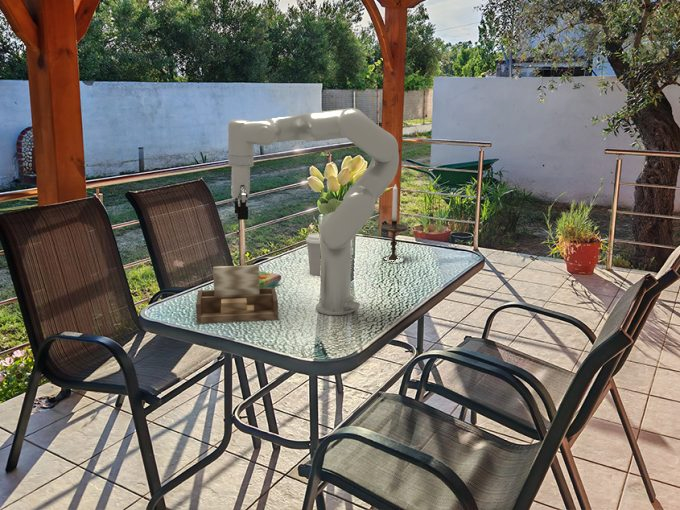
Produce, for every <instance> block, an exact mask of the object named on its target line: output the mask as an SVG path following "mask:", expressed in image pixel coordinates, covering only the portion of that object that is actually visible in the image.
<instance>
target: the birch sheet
mask: <svg viewBox="0 0 680 510" xmlns="http://www.w3.org/2000/svg"><path fill="white" fill-rule="evenodd" d="M212 269H213V270H212V271H213V272H212V273H213V275H212V276H213V290H214V296H232V295H256V294H260V292H259V271H260V265H259V264H256V265H254V264H252V265H251V264H250V265H249V264H247V265H229V266H228V265H225V266H224V265H221V266H213V267H212Z"/></svg>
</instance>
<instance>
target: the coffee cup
mask: <svg viewBox="0 0 680 510" xmlns="http://www.w3.org/2000/svg"><path fill="white" fill-rule="evenodd" d="M319 233H320V232H315V233H309V234H308V235H307V237H306V238H305V242H306V245H307V255H308V266H309V275H312V276H314V275H315V277H317V276H318V277H321V276H320V240H319V238H320V237H319Z"/></svg>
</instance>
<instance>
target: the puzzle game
mask: <svg viewBox="0 0 680 510" xmlns="http://www.w3.org/2000/svg"><path fill="white" fill-rule="evenodd" d="M281 279H282V275H281V274H277V273H271V272H270V273H269V272H265V271H260V270H259V288H267V287H275V286H277V285H278V284H279V283H280V281H281Z"/></svg>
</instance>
